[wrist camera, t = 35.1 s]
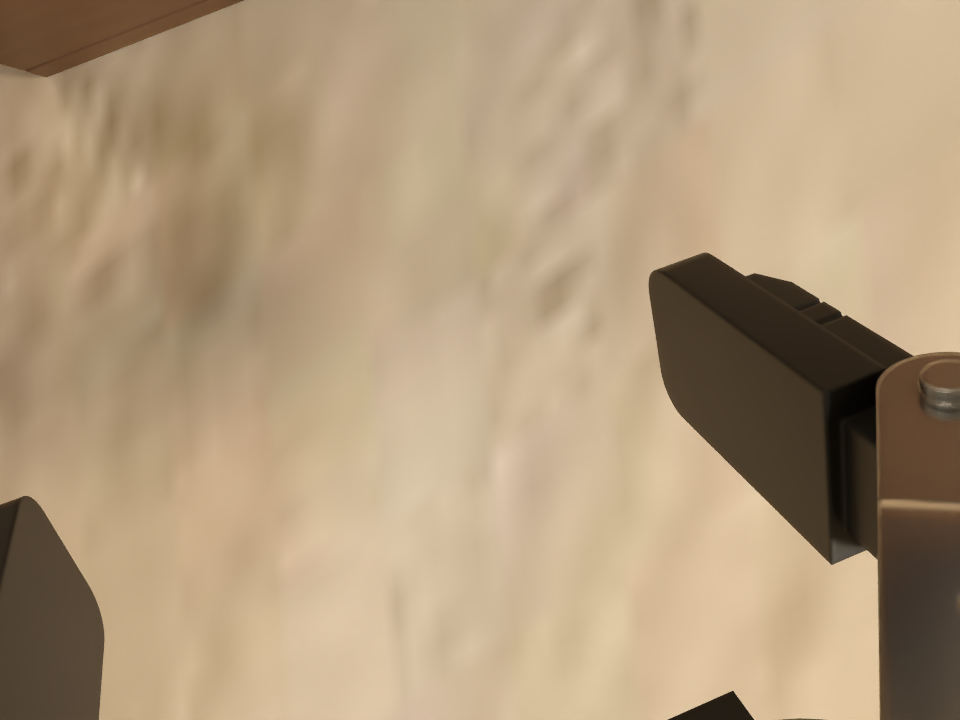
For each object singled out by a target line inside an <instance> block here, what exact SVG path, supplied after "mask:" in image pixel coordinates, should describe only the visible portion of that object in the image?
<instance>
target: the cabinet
mask: <svg viewBox="0 0 960 720" xmlns="http://www.w3.org/2000/svg"><path fill="white" fill-rule="evenodd" d="M240 1H243V0H0V64H2V65H6V66H10V67H13V68H17V69H20V70H25V71H26V72H30V73H33V74H37V75H40V76H44V77H48V76H51V75H54V74H56V73H59V72H61V71H64V70H66V69H69V68H71V67H74V66H77V65H79V64H82V63H84V62H87V61H89V60H92V59H94V58H97V57H100V56H102V55H105V54H107V53H110V52H112V51H115V50H117V49H120V48H123V47H125V46H128V45H130V44H133V43H135V42H138V41H140V40H143V39H146V38H148V37H151V36H153V35H156V34H158V33H161V32H163V31H166V30H169V29H171V28H174V27H176V26H179V25H181V24H184V23H186V22H189V21H192V20H194V19H197V18H199V17H202V16H204V15H207V14H209V13H212V12H215V11H217V10H220V9H222V8H225V7H227V6H230V5H233V4H235V3H238V2H240Z"/></svg>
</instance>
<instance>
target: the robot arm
mask: <svg viewBox="0 0 960 720" xmlns="http://www.w3.org/2000/svg"><path fill="white" fill-rule="evenodd" d="M649 294H650V301H651V307H652V314H653V321H654V327H655V334H656V341H657V347H658V354H659V360H660V367H661V373H662V378H663V381H664V385H665V388H666V390H667V393H668V395H669V397H670V399H671V401H672V403H673V405H674V407H675V408H676V410H677V411H678V412H679V414H680V415H681V416H682V417H683V418H684V419H685V420H686V421H687V422H688V423H689V424H690V425H691V426H692V427H693V428H694V429H695V430H696V431H697V432H698V433H699V434H700V435H701V436H702V437H703V438H704V439H705V440H706V441H707V442H708V443H709V444H710V445H711V446H712V447H713V448H714V449H715V450H716V451H717V452H718V453H719V454H720V455H721V456H722V457H723V458H724V459H725V460H726V461H727V462H728V463H729V464H730V465H731V466H732V467H733V468H734V469H735V470H736V471H737V472H738V473H739V474H740V475H741V476H742V477H743V478H744V479H745V480H746V481H747V482H748V483H749V484H750V485H751V486H752V487H753V488H754V489H755V490H756V491H757V492H758V493H759V494H761V495H762V496H763V497H764V498H765V499H766V500H767V501H768V502H769V503H770V504H771V505H772V506H773V507H774V508H775V509H776V510H777V511H778V512H779V513H780V514H781V515H782V516H783V517H784V518H785V519H786V520H787V521H788V522H789V523H790V524H791V525H792V526H793V527H794V528H795V529H796V530H797V531H798V532H799V533H800V534H801V535H802V536H803V537H804V538H805V539H806V540H807V541H808V542H809V543H810V544H811V545H812V546H813V547H814V548H815V549H816V550H817V551H818V552H819V553H820V554H821V555H822V556H823V557H824V558H825V559H826V560H827V561H828V562H829V563H830V564H831V565H833V564H835V563H837V562H840V561H842V560H844V559H847V558H849V557H851V556H853V555H856V554H858V553H860V552H863V551H865V550H868V551H869V552H870V553H871V554H872V555H873V556H874V557H875V558H876V559H878V620H879V697H880V720H960V352H937V353H928V354H921V355H917V356H913V355H911V354H909V353H908V352H906V351H904V350H903V349H901V348H899V347H898V346H896V345H894V344H893V343H891V342H889V341H888V340H886V339H885V338H883V337H881V336H880V335H878V334H876V333H875V332H873V331H871V330H870V329H868V328H866V327H865V326H863V325H861V324H860V323H858V322H856V321H855V320H853V319H852V318H850V317H848V316H847V315H846V316H844V317H843V316H842V315H841V312H840V311H838V310H837V309H835V308H833V307H832V306H830V305H828V304H827V303H825V302H822V303H820V301H819V298H817V297H815V296H814V295H812V294H810V293H809V292H807V291H805V290H804V289H802V288H800V287H799V286H797V285H795V284H794V283H792V282H788V281H784V280H780V279H776V278H772V277H768V276H764V275H759V274H755V273H754V274H751V275H749V276H746V277H745V276H744V275H742V274H741V273H739V272H738V271H736V270H734V269H733V268H731V267H730V266H728V265H727V264H725V263H724V262H722V261H720V260H719V259H717V258H716V257H714V256H713V255H711V254H709V253H702V254H699V255H696V256H693V257H691V258H688V259H685V260H682V261H679V262H677V263H674V264H671V265H668V266H666V267H663V268H660V269H657V270H654V271H653V272H652V273H651V275H650V278H649ZM103 652H104V628H103V622H102V617H101V614H100V610H99V607H98V604H97V602H96V599H95V597H94V595H93V592H92V591H91V589H90V587H89V585H88V584H87V582H86V580H85V579H84V577H83V575H82V574H81V572H80V570H79V569H78V567H77V565H76V564H75V562H74V561H73V559H72V557H71V556H70V554H69V552H68V551H67V549H66V547H65V546H64V544H63V542H62V541H61V539H60V537H59V536H58V534H57V533H56V531H55V529H54V528H53V526H52V524H51V523H50V521H49V519H48V518H47V516H46V514H45V513H44V511H43V510H42V508H41V507H40V506H39V504H38V503H37V502H36V501H35V500H34V499H32V498H31V497H29V496H23V497H21V498H18V499H15V500H12V501H10V502H7V503H4V504H1V505H0V720H99V708H100V694H101V680H102V666H103ZM668 720H754V719H753V718H752V716H751V715H750V714H749V712H748V711H747V709H746V708H745V707H744V705H743V704H742V702H741V701H740V700H739V698H738V697H737V696H736V694H735V693H734V691H731V692H729V693H727V694H725V695H722V696H720V697H718V698H716V699H713V700H711V701H709V702H707V703H704V704H702V705H700V706H698V707H695V708H693V709H691V710H689V711H686V712H684V713H682V714H680V715H677V716H675V717H673V718H671V719H668ZM784 720H821V719H784Z"/></svg>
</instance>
